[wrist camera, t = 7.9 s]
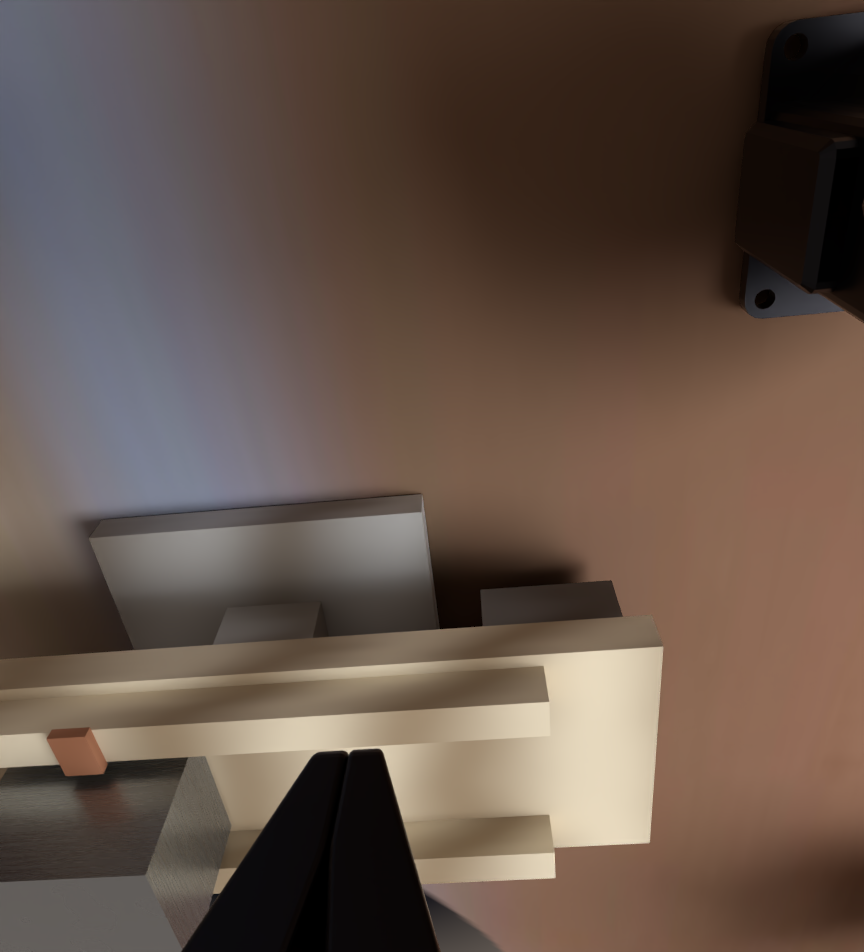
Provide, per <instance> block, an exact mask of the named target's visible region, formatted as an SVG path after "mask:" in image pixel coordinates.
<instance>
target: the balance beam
mask: <svg viewBox="0 0 864 952" xmlns="http://www.w3.org/2000/svg"><path fill="white" fill-rule="evenodd" d="M89 541H90V543H91V545H92V548H93V550H94V553H95V555H96V558H97V560H98V563H99V565H100V568H101V570H102V573H103V575H104V577H105V580H106V582H107V585H108V587H109V590H110V592H111V595H112V597H113V600H114V602H115V604H116V607H117V609H118V612H119V614H120V617H121V619H122V622H123V624H124V627H125V629H126V631H127V634H128V636H129V639H130V641H131V644H132V646H133V649H134V650H130V651H115V652H101V653H86V654H71V655H57V656H42V657H27V658H13V659H0V780H1V778H2V777H3V775H4V773H5V772H6V770H7V769H8V768H9V767H26V766H43V765H60V766H61V768H62V770H63V772H64V774H65V776H79V775H97V774H103V773H104V771H105V769H106V767H107V765H108V764H107V762H112V761H129V760H146V759H163V758H181V757H198V756H205V757H206V759H207V762H208V765H209V767H210V770H211V773H212V775H213V778H214V781H215V783H216V786H217V788H218V791H219V794H220V796H221V799H222V802H223V804H224V807H225V810H226V812H227V815H228V817H229V820H230V823H231V825H232V826H231V829H230V833H229V837H228V840H227V844H226V848H225V851H224V855H223V858H222V862H221V866H220V869H219V873H218V876H217V880H216V884H215V887H214V891H213V894H216V893H221V891H222V890H223V888H224V887H225V885H226V884H227V882H228V881H229V879H230V878H231V876H232V875H233V873H234V872H235V870H236V869H237V867H238V866H239V864H240V863H241V861H242V860H243V858H244V857H245V855H246V854H247V852H248V851H249V849H250V848H251V846H252V845H253V843H254V842H255V840H256V839H257V837H258V836H259V834H260V833H261V831H262V830H263V828H264V827H265V825H266V824H267V822H268V821H269V819H270V818H271V816H272V815H273V813H274V812H275V810H276V809H277V807H278V806H279V804H280V803H281V801H282V800H283V798H284V797H285V795H286V794H287V792H288V791H289V789H290V788H291V786H292V785H293V783H294V782H295V780H296V779H297V777H298V776H299V774H300V773H301V771H302V770H303V769H304V767H305V766H306V764H307V763H308V761H309V760H310V758H311V757H312V756H313V755H314V754H316V753H317V752H323V751H340V750H343V751H346V752H347V753H348V754H349V753H350V752H351V751H352V750H357V749H374V748H378V749H381V750H382V751H383V753H384V756H385V760H386V763H387V767H388V770H389V774H390V777H391V781H392V784H393V788H394V791H395V795H396V798H397V802H398V805H399V808H400V812H401V815H402V819H403V822H404V826H405V829H406V833H407V836H408V840H409V843H410V847H411V850H412V854H413V857H414V861H415V864H416V868H417V871H418V875H419V878H420V882H421V884H435V883H457V882H479V881H501V880H522V879H544V878H555V853H554V848H556V847H576V846H597V845H618V844H639V843H650V829H651V815H652V801H653V786H654V772H655V758H656V744H657V729H658V715H659V701H660V686H661V672H662V658H663V644H662V642H661V639H660V636H659V634H658V631H657V628H656V625H655V623H654V620H653V617H652V615H643V616H628V617H623V616H622V613H621V610H620V606H619V603H618V600H617V597H616V594H615V590H614V587H613V584H612V581H611V580H610V581H596V582H582V583H568V584H554V585H540V586H526V587H512V588H498V589H484V590H480V591H481V607H482V622H483V626H482V627H467V628H453V629H440V627H439V620H438V612H437V604H436V596H435V589H434V581H433V573H432V565H431V558H430V550H429V542H428V534H427V527H426V519H425V511H424V503H423V496H422V494H417V495H405V496H393V497H380V498H368V499H355V500H343V501H330V502H318V503H305V504H293V505H281V506H268V507H256V508H243V509H231V510H218V511H206V512H194V513H181V514H169V515H156V516H144V517H131V518H119V519H106V520H102V521H101V522H100V523H99V525H98V526H97V527H96V529H95V530H94V532H93V533H92V534H91V536H90V537H89Z"/></svg>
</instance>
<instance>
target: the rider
mask: <svg viewBox="0 0 864 952" xmlns="http://www.w3.org/2000/svg"><path fill="white" fill-rule="evenodd" d="M107 764H108V765H107V767H106V769H105V771H104V773H103V774H97V775H79V776H65V774H64V772H63V770H62V768H61V766H60V765H43V766H26V767H9V768H8V769H7V770H6V772H5V773H4V775H3V777H2V778H1V780H0V952H181V951H182V949H183V948H184V946H185V945H186V943H187V942H188V940H189V939H190V937H191V936H192V934H193V933H194V931H195V930H196V928H197V927H198V925H199V924H200V922H201V921H202V919H203V918H204V916H205V915H206V913H207V912H208V909H209V905H210V902H211V898H212V895H213V891H214V887H215V884H216V880H217V876H218V873H219V869H220V866H221V862H222V858H223V855H224V851H225V848H226V844H227V840H228V837H229V833H230V829H231V826H232V825H231V823H230V820H229V817H228V815H227V812H226V810H225V807H224V804H223V802H222V799H221V796H220V794H219V791H218V788H217V786H216V783H215V781H214V778H213V775H212V773H211V770H210V767H209V765H208V762H207V759H206V757H205V756H198V757H181V758H163V759H146V760H129V761H112V762H107Z"/></svg>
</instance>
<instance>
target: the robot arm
mask: <svg viewBox="0 0 864 952" xmlns="http://www.w3.org/2000/svg"><path fill="white" fill-rule="evenodd" d="M794 34H796V35H797V36H798V37H799V38H800V44H801V46H800V49H799V52H798V53H797V55H796V56H795V57H794V58H792V59H790V60H788V59H787V58H786V56H785V55H784V46H785V43H786V41H787V40H788V39H789V37H790V36H791V35H794ZM735 243H736V244H737V245H738V246H739V247H740V248H741V249H742V250H743V251H744V255H743V265H742V274H741V284H740V293H739V300H740V305H741V306H742V308H743V309H744V310H745V311H746V312H747V313H748V314H749V315H751V316H753V317H755V318H762V319H763V318H774V317H784V316H795V315H806V314H817V313H827V312H838V311H846V312H847V313H849V314H851V315H852V316H854V317H855V318H857V319H858V320H860V321H861V322H863V323H864V12H858V13H849V14H841V15H832V16H824V17H816V18H807V19H799V20H791V21H788V22H785V23H782V24H781V25H780V26H779V27H777V28H776V29H775V30H774V31H773V32H772V34H771V36H770V37H769V39H768V41H767V45H766V48H765V55H764V65H763V74H762V84H761V93H760V103H759V112H758V122H755V123H754V124H753V125H752V126H751V128H750V129H749V130H748V131H747V132H746V134H745V138H744V149H743V159H742V169H741V179H740V189H739V200H738V210H737V220H736V230H735ZM765 289H769V293H770V294H769V296H768V299H767V300H766V301H765V302H764V303H761V304H758V305H757V304H755V301H754V300H755V297H756V295H757V294H758V293H759V292H760V291H762V290H765ZM181 952H441V951H440V948H439V944H438V941H437V937H436V934H435V930H434V927H433V923H432V920H431V917H430V913H429V909H428V906H427V902H426V899H425V895H424V892H423V888H422V885H421V882H420V878H419V875H418V871H417V868H416V864H415V861H414V857H413V854H412V850H411V847H410V843H409V840H408V836H407V833H406V829H405V826H404V822H403V819H402V815H401V812H400V808H399V805H398V802H397V798H396V795H395V791H394V788H393V784H392V781H391V777H390V774H389V770H388V767H387V763H386V760H385V756H384V753H383V751H382V750H381V749H378V748H374V749H357V750H352V751H351V752H350V753H349V754H348V753H347V752H346V751H343V750H340V751H323V752H317V753H316V754H314V755H313V756H312V757H311V758H310V760H309V761H308V763H307V764H306V766H305V767H304V769H303V770H302V771H301V773H300V774H299V776H298V777H297V779H296V780H295V782H294V783H293V785H292V786H291V788H290V789H289V791H288V792H287V794H286V795H285V797H284V798H283V800H282V801H281V803H280V804H279V806H278V807H277V809H276V810H275V812H274V813H273V815H272V816H271V818H270V819H269V821H268V822H267V824H266V825H265V827H264V828H263V830H262V831H261V833H260V834H259V836H258V837H257V839H256V840H255V842H254V843H253V845H252V846H251V848H250V849H249V851H248V852H247V854H246V855H245V857H244V858H243V860H242V861H241V863H240V864H239V866H238V867H237V869H236V870H235V872H234V873H233V875H232V876H231V878H230V879H229V881H228V882H227V884H226V885H225V887H224V888H223V890H222V891H221V893H220V894H219V896H218V897H217V899H216V900H215V902H214V903H213V905H212V906H211V908H210V909H209V910H208V912H207V913H206V915H205V916H204V918H203V919H202V921H201V922H200V924H199V925H198V927H197V928H196V930H195V931H194V933H193V934H192V936H191V937H190V939H189V940H188V942H187V943H186V945H185V946H184V948H183V949H182V951H181Z"/></svg>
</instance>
